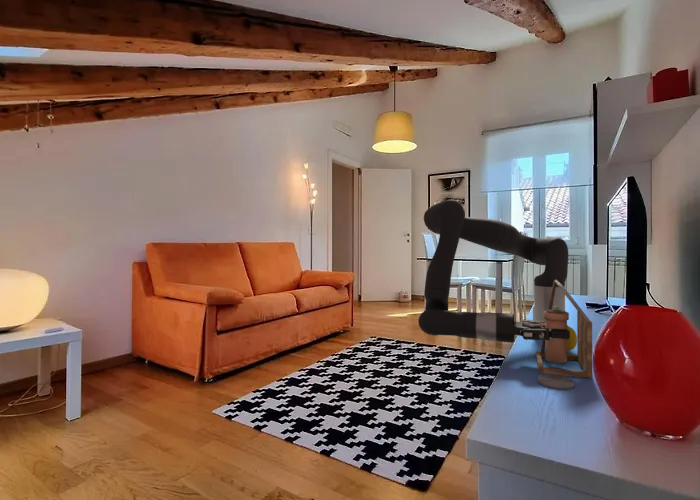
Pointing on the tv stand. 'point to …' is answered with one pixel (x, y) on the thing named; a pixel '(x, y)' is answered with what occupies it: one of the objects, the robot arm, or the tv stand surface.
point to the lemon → (571, 339)
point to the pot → (556, 346)
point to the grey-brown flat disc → (556, 382)
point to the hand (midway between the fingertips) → (567, 331)
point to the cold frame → (582, 342)
